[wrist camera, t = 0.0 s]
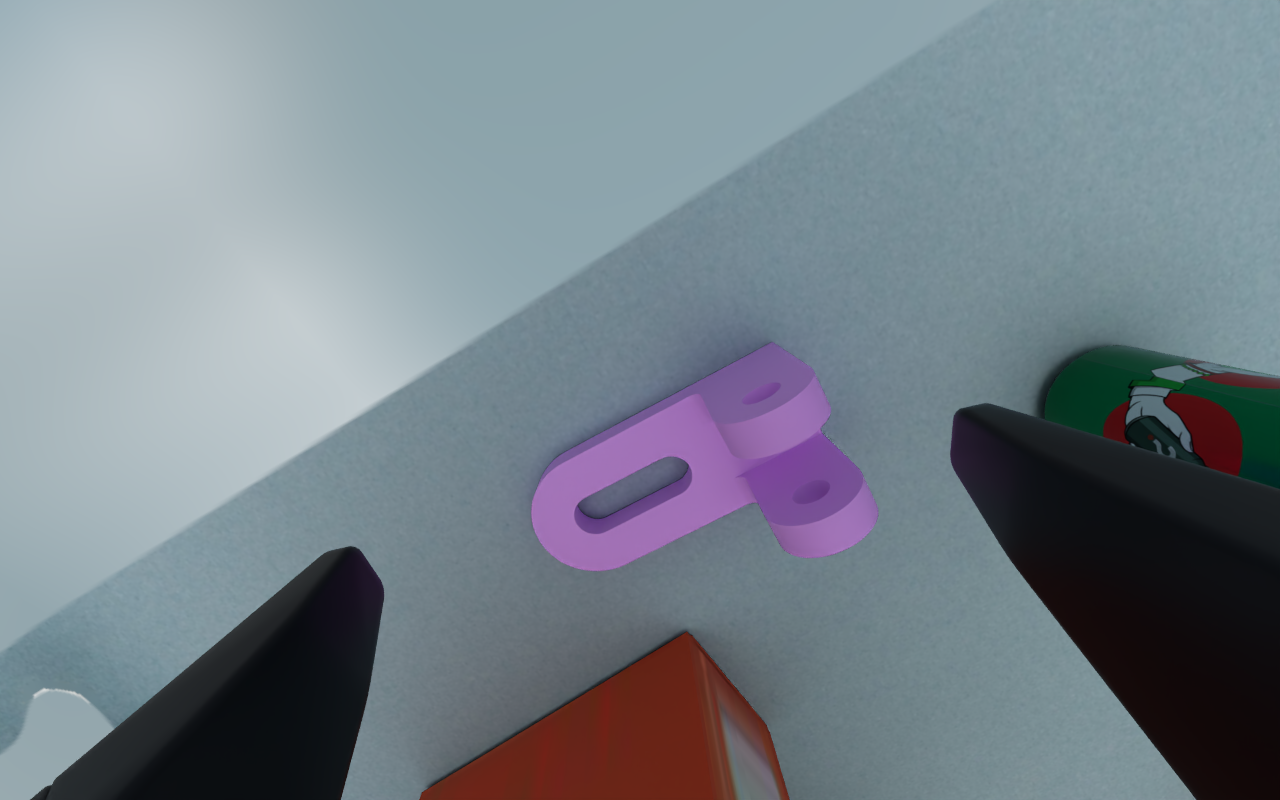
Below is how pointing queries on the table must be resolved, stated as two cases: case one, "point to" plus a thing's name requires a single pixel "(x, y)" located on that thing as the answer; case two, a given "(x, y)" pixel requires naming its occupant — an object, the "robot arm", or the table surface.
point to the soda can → (1174, 408)
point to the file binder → (636, 742)
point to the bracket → (713, 469)
